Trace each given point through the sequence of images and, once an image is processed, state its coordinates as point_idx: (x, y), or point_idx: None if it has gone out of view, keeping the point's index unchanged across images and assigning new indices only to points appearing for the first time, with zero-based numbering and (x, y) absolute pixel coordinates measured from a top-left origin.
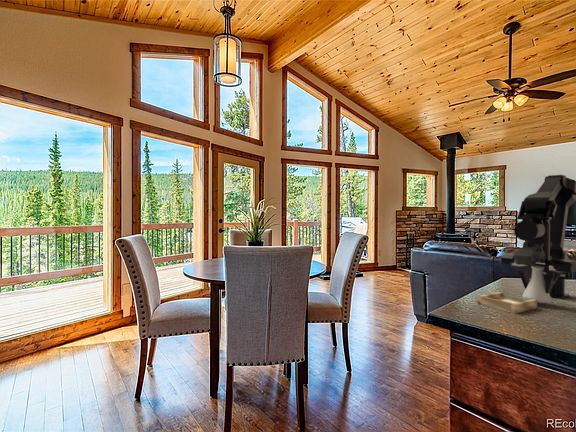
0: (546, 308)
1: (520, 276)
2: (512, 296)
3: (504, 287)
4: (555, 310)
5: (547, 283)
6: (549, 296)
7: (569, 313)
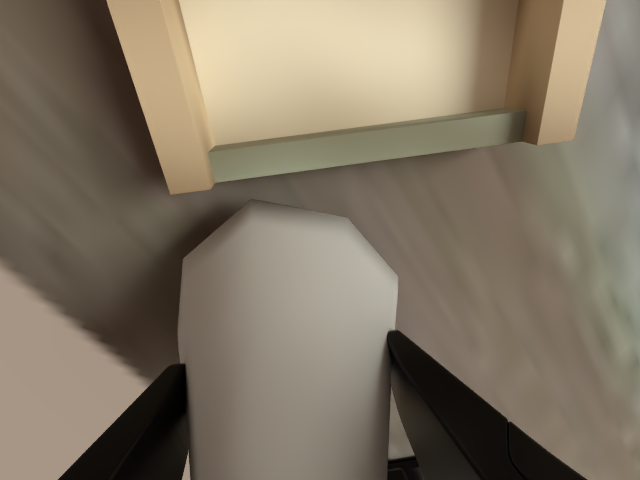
0: (173, 237)
1: (534, 445)
2: (422, 153)
3: (612, 428)
4: (110, 248)
5: (94, 476)
6: (181, 354)
7: (19, 267)
